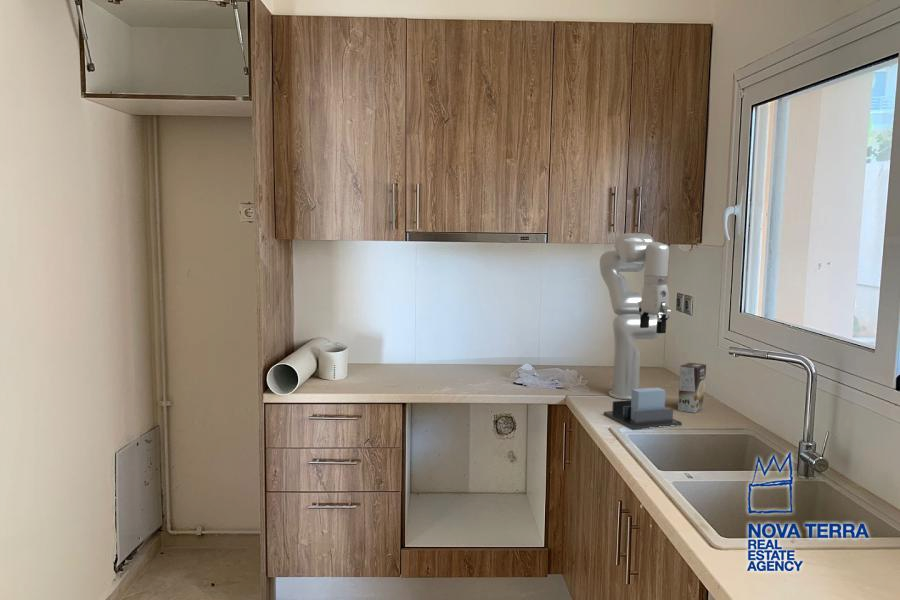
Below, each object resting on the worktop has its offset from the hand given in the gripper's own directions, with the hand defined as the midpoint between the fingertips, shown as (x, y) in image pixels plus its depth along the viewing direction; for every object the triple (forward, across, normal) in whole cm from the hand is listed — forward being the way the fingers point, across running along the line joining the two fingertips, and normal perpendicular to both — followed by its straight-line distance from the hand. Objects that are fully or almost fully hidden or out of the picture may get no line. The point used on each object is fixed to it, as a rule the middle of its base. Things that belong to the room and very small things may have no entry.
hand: (652, 330), depth 216 cm
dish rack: (+29, -7, +7) cm, 30 cm away
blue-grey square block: (+28, -10, +7) cm, 30 cm away
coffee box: (+30, +1, -18) cm, 35 cm away
